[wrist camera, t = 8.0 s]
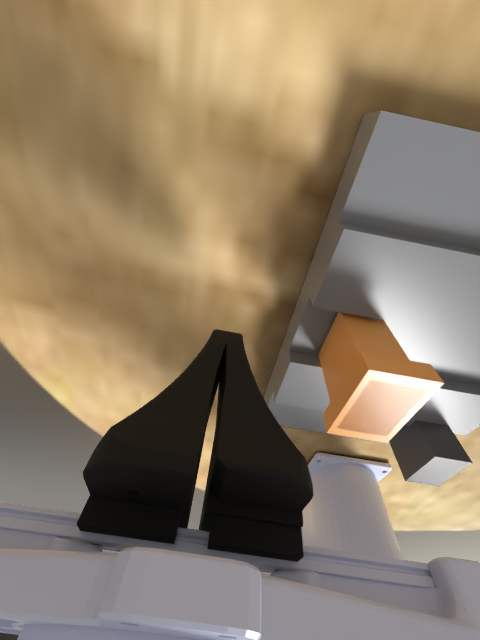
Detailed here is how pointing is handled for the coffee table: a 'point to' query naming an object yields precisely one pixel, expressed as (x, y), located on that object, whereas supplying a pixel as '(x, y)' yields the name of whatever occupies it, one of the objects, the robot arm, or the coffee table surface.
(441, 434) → the box
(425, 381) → the handle
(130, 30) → the coffee table surface
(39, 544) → the robot arm
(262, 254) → the coffee table surface
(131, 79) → the coffee table surface
